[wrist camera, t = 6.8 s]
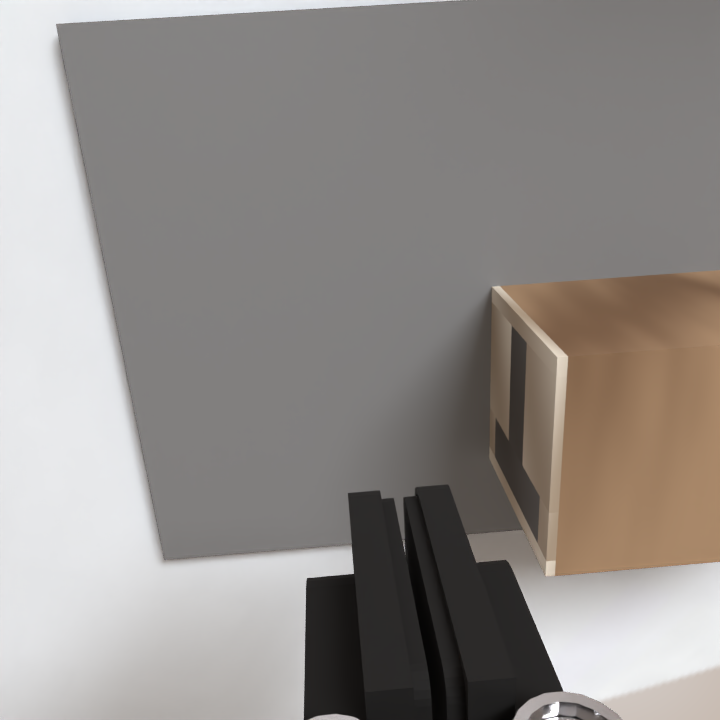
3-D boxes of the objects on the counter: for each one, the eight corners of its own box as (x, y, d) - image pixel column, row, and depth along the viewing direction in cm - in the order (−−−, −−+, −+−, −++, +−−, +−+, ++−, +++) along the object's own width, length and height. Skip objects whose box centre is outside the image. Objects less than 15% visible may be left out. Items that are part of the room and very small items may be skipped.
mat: (945, -26, 15) (961, -29, 15) (824, 495, 20) (833, 503, 20) (62, 25, 15) (56, 24, 14) (167, 551, 20) (164, 559, 19)
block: (492, 286, 17) (843, 261, 17) (489, 458, 19) (807, 433, 19) (557, 357, 12) (1038, 321, 13) (545, 576, 14) (965, 540, 14)
